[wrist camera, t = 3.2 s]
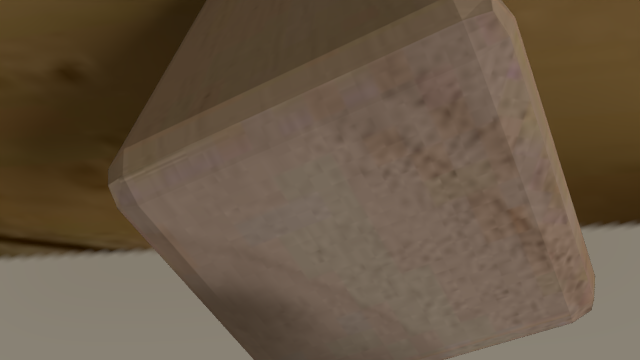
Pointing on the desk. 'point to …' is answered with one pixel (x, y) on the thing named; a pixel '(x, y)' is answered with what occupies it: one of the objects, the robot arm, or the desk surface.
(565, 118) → the desk surface
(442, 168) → the wooden block
